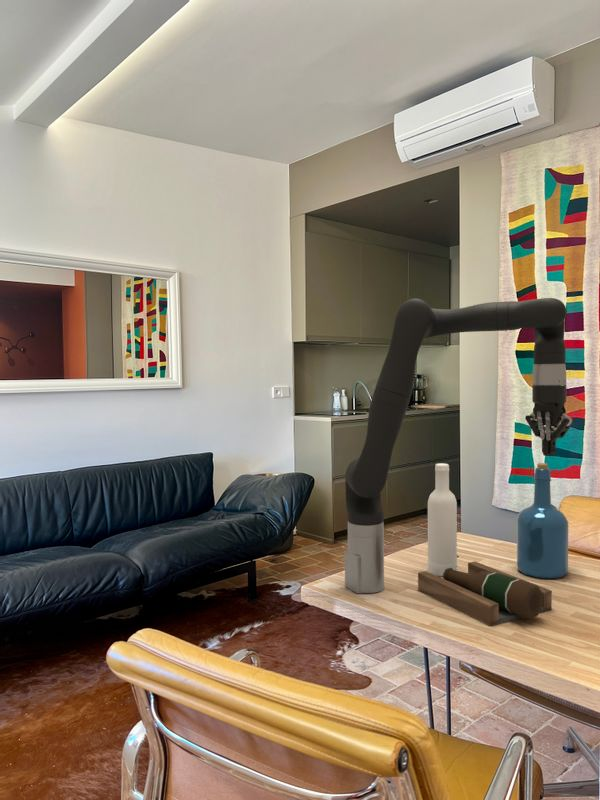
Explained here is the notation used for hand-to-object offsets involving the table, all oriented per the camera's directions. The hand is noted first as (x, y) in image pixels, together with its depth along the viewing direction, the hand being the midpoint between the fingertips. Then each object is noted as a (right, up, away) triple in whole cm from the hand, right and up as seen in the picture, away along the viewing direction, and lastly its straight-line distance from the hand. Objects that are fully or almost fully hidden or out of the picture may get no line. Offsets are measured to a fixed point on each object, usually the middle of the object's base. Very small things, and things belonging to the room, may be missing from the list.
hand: (548, 455), depth 146 cm
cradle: (-15, -35, +2) cm, 38 cm away
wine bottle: (+7, -34, +22) cm, 41 cm away
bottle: (-20, -34, +23) cm, 46 cm away
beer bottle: (-8, -31, -13) cm, 35 cm away
